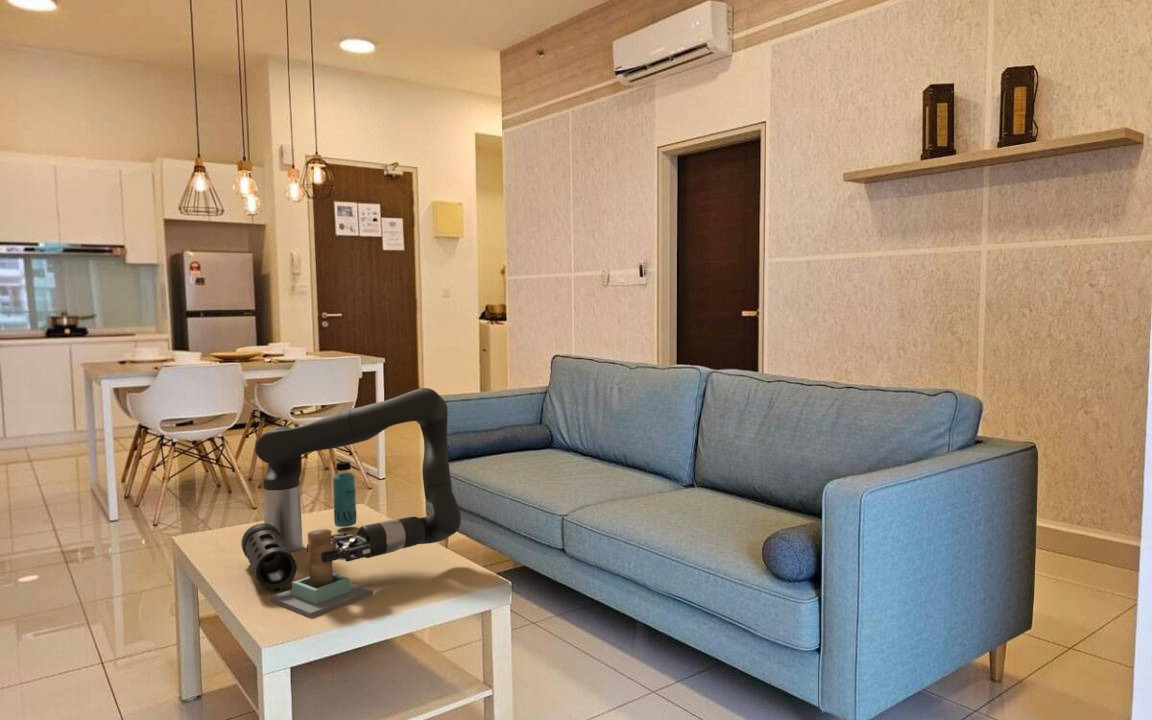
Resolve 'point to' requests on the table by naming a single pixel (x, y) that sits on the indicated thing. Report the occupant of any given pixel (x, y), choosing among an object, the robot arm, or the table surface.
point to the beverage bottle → (344, 496)
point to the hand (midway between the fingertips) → (314, 553)
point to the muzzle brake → (268, 556)
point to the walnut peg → (319, 558)
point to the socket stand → (320, 596)
